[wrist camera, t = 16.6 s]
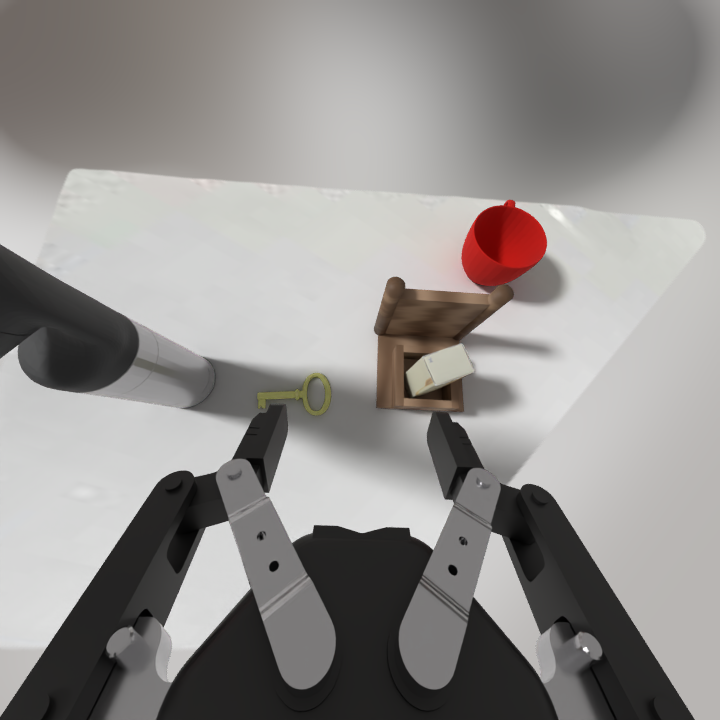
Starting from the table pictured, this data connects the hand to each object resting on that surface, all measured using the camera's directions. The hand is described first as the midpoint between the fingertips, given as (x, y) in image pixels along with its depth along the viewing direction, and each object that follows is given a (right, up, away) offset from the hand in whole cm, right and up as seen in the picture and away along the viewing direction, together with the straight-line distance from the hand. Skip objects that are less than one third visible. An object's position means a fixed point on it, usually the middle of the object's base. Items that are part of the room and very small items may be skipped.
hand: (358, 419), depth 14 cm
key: (-11, -3, +31) cm, 33 cm away
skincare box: (+11, -1, +32) cm, 33 cm away
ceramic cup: (+26, +24, +40) cm, 53 cm away
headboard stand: (+11, +2, +33) cm, 35 cm away
